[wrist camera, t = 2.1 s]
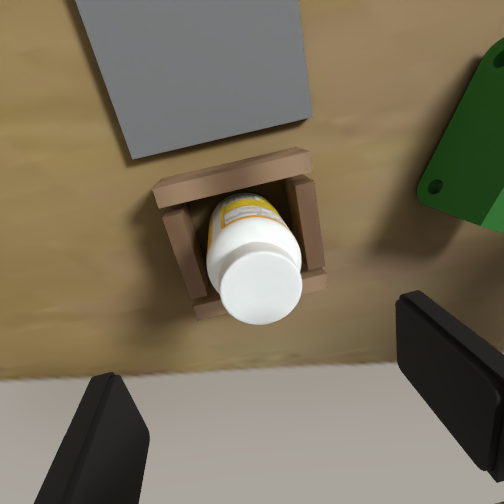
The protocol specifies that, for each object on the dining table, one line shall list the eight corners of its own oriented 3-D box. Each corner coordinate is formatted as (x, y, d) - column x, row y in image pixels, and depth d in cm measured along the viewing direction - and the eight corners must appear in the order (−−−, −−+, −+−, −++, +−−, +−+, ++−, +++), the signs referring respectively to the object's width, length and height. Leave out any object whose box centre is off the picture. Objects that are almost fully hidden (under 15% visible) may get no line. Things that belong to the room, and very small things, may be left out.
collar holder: (295, 147, 21) (310, 151, 18) (313, 267, 25) (328, 288, 22) (161, 179, 21) (152, 189, 18) (199, 295, 25) (197, 320, 22)
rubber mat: (278, -129, 16) (281, -141, 15) (309, 117, 21) (312, 117, 20) (50, -80, 16) (42, -90, 15) (135, 158, 21) (132, 159, 20)
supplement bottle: (238, 176, 22) (256, 212, 13) (293, 220, 24) (340, 279, 15) (193, 233, 23) (181, 301, 14) (248, 271, 25) (267, 353, 16)
